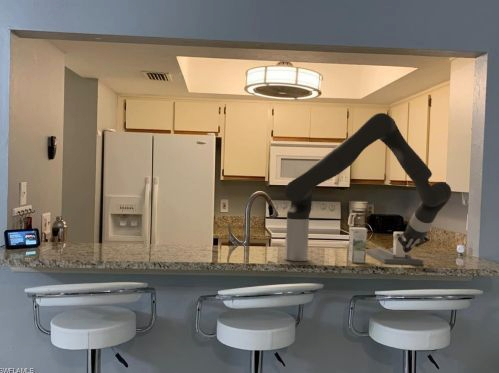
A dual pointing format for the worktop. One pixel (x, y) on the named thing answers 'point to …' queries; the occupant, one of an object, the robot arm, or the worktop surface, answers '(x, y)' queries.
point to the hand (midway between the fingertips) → (405, 250)
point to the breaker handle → (398, 246)
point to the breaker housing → (393, 257)
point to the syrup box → (357, 244)
